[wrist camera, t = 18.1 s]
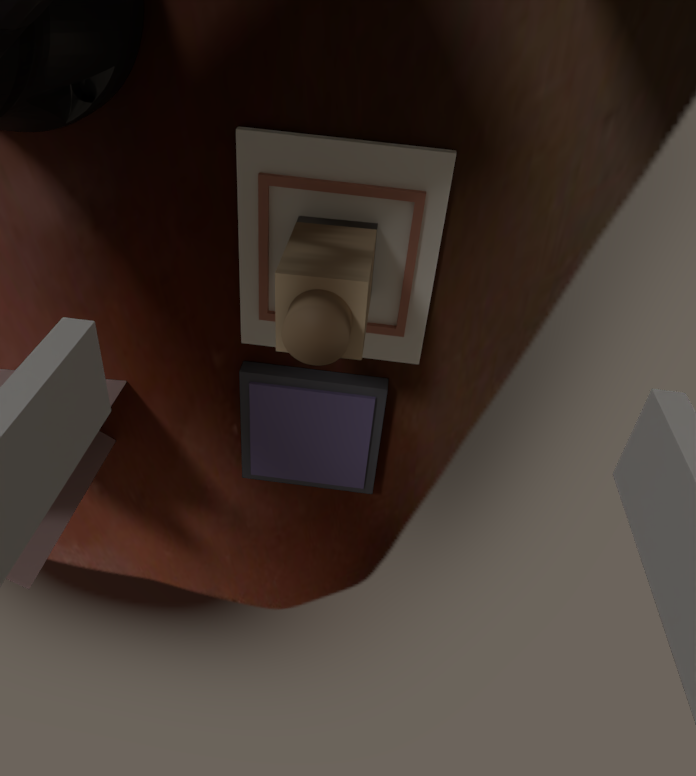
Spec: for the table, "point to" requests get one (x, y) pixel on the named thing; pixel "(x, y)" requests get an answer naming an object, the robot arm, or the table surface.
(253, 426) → the ink pad
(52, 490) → the robot arm
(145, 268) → the table surface
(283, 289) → the stamp
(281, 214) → the print sheet
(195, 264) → the table surface
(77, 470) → the greeting card
